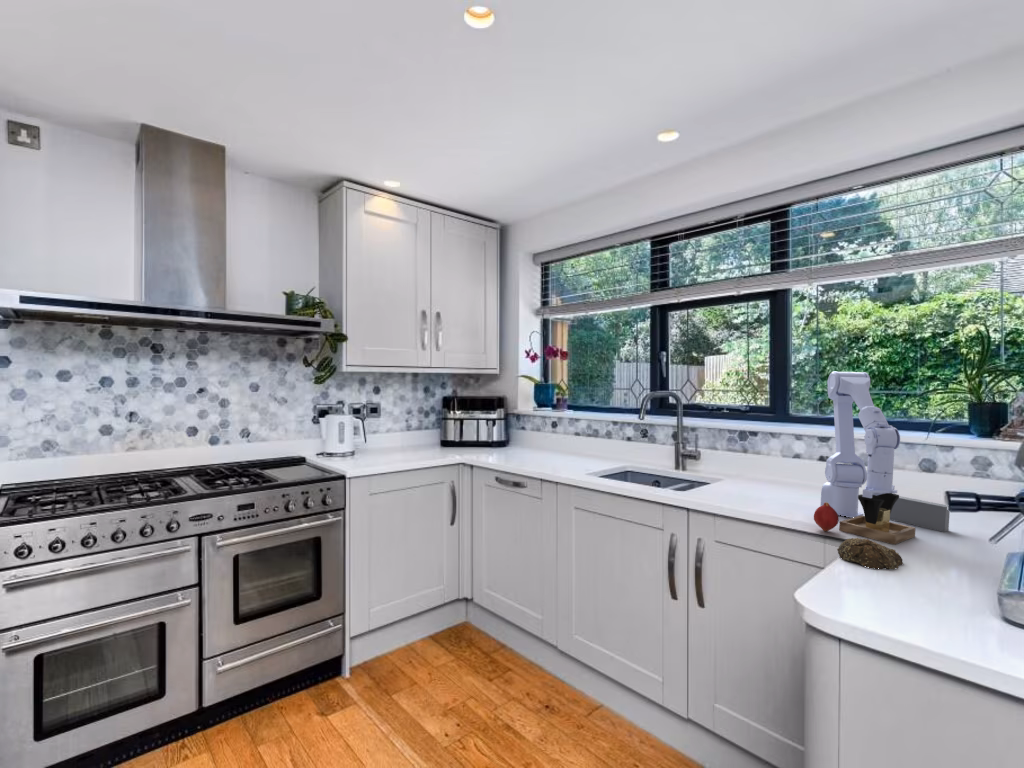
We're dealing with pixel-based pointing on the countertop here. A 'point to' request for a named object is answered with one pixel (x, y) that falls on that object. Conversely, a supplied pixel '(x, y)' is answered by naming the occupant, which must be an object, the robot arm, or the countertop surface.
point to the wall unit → (921, 513)
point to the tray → (893, 536)
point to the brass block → (881, 521)
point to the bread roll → (869, 554)
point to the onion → (826, 517)
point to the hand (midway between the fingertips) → (877, 521)
